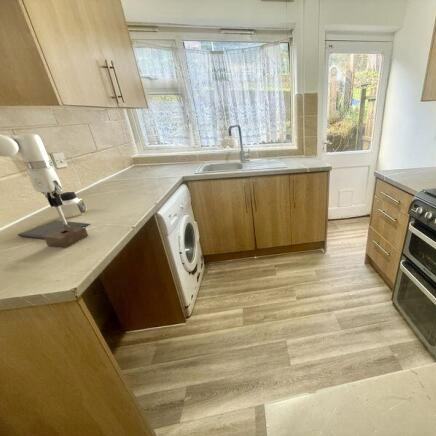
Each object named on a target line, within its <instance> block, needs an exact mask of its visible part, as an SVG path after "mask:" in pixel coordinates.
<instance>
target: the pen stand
mask: <svg viewBox="0 0 436 436" xmlns="http://www.w3.org/2000/svg"><path fill="white" fill-rule="evenodd" d="M87 236H88V237H89V234H88V231H87V229H86V227H85V228H82V227H73V226H67V227H64V228H62V229H59V230H57V231H54V232H52V233H49V234H47V235H44V236H43V237H44V239H43V240H44V242H45V243H46V246H47V247H51V248H59V247H61V248H60V249H67V248H68V246H69V247H71V246H73V245H75V244H76V243H75V242H77V241H79V240H81V239H83V238H85V237H86V238H88V237H87ZM86 238H85V239H86ZM83 240H84V239H83ZM81 241H82V240H81ZM79 242H80V241H79ZM74 243H75V244H74ZM77 243H78V242H77ZM72 244H73V245H72ZM70 245H71V246H70ZM66 247H67V248H66Z"/></svg>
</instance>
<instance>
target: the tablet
mask: <svg viewBox="0 0 436 436" xmlns="http://www.w3.org/2000/svg"><path fill="white" fill-rule="evenodd" d="M66 222H67V225H63V223H62V221H61V220H57V219H56V220H52V221H50V222H46V223H44V224H41V225H38V226H36V227H33V228H30V229H27V230H25V231H23V232H20V233H17V237H24V238H32V239H38V240H39V239H40V240H45V239H44V237H43V236H44V235H47V234H49V233H52V232H54V231H57V230H59V229H62V228H64V227H67V226H73V227H82V228H83V227H85V228H86V226H87V227H89V226H91V225H90V224H91V223H85V222H77V221H67V220H66ZM88 225H89V226H88Z"/></svg>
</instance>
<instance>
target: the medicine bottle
mask: <svg viewBox="0 0 436 436" xmlns="http://www.w3.org/2000/svg"><path fill="white" fill-rule="evenodd" d="M60 199H61V201H62V203H63V205H61V206H60V208H61V211H62V213H63V215H64V218H71V217H72V218H73V217H76V216H77V217H78V216H82V215H84V214H85V213H86V212H87V210H88V209H87V207H86V205H85V203H84V200H83V198H78V196H77V194H76V192H75V191H64V192H62V193H61V194H60Z"/></svg>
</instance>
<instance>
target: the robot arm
mask: <svg viewBox="0 0 436 436" xmlns="http://www.w3.org/2000/svg"><path fill="white" fill-rule="evenodd" d="M19 153H20V154H21V158H22V159H23V161H24V164H25V166H26V168H27V173H28V176H29V180H30V182H31V184H32V187H33V189H34V191H35V192H38V193H41V194H42V195H44V197H45V198H46V199H47V201H48V203H49V206H50V207H52V208H53V207H54V208H56V207H58V206H61V205H63V203H64V202H62V200H61V198H60V194H62V193H63V190H62V189H63V187H62V186H63V185H62V183H61V181H60V179H59V177H58V175H57V172H56V171H55V170H54V168H53V165H52V162H51V159H50V158H49V155H48V153H47V150H46V148H45V145H44V143H43V141H42V139H41V136H40V135H38V134H36V133H21V134H16V135H10V134H8V135H7V134H0V157H3V158H10V157H13V156H16V155H17V154H19ZM50 195H51V196H50ZM51 197H52V198H51Z"/></svg>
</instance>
